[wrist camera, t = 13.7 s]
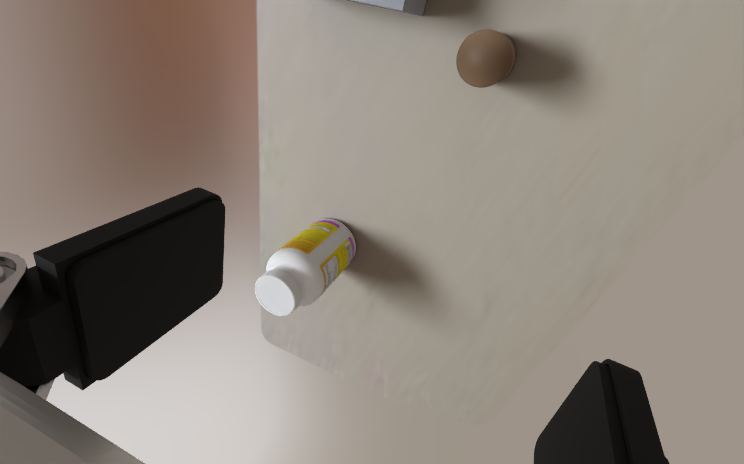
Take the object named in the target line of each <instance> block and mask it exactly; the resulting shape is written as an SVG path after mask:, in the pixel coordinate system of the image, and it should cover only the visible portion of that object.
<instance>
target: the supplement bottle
mask: <svg viewBox="0 0 744 464" xmlns="http://www.w3.org/2000/svg"><path fill="white" fill-rule="evenodd" d="M355 251H356V244H355V239H354V237H353V235H352V233H351V232H350V230H349V229H348V228H347V227H346V226H345V225H344V224H342V223H341V222H339V221H337V220H334V219H329V218H325V219H320V220H318V221H316V222H314V223H313V224H312V225H310V226H309V227H308V228H306V229H305V230H304V231H303V232H301V233H300V234H299V235H297V236H296V237H295V238H293V239H292V240H291V241H290V242H288V243H287V244H286V245H284V246H283V247H282V248H281V249H279V250H278V251H277V252H276V253H274V254H273V255H272V256H271V258H270V259H269V261H268V263H267V267H266V273H264V274H263V275H262V276H261V277H260V278H259V279H258V280H257V282H256V284H255V293H256V296H257V298H258V300H259V302H260V304H261V305H262V306H263V307H264V308H265V309H266V310H267V311H269V312H270V313H272V314H274V315H277V316H287V315H289V314H291V313H292V312H293V311H294V310H295V309H296V308H297V307H298V306H306V305H309V304H312V303H313V302H315V301H316V300H317V299H318V298H319V297H320V296H321V295H322V294H323V293H324V291H325V290H326V289H327V288H328V287H329V286H330V285H331V284H332V282H333V281H334V280H335V279H336V278H337V277H338V276H339V275H340V273H341V272H342V271H343V270H344V269H345V268H346V267H347V266H348V265H349V263H350V262H351V261H352V259H353V258H354V255H355Z"/></svg>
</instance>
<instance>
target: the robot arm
mask: <svg viewBox="0 0 744 464" xmlns="http://www.w3.org/2000/svg"><path fill="white" fill-rule="evenodd" d="M224 228H225V206H224V204H223V203H222V200H221V198H220V196H218V195H216V194H214V193H212V192H209V191H207V190H204V189H202V188H194V189H192V190H189V191H187V192H184V193H182V194H179V195H177V196H174V197H172V198H169V199H167V200H164V201H162V202H159V203H157V204H155V205H152V206H149V207H147V208H144V209H142V210H139V211H137V212H135V213H132V214H129V215H127V216H124V217H122V218H119V219H117V220H114V221H112V222H109V223H107V224H104V225H102V226H99V227H97V228H94V229H92V230H89V231H87V232H85V233H82V234H79V235H77V236H74V237H72V238H69V239H67V240H64V241H62V242H59V243H57V244H54V245H52V246H49V247H47V248H44V249H42V250H39V251H37V252H34V253H33V254H34V258H35V262H36V266H34V267H32V268H29V269H28V268H27V265H26V262H25V260H24V259H23V258H21V257H20V256H18V255H15V254H12V253H8V252H0V464H144V463H143V462H141V461H140V460H138V459H137V458H135V457H134V456H132V455H130V454H129V453H127V452H126V451H124V450H123V449H121V448H120V447H118V446H117V445H115V444H113V443H112V442H110V441H109V440H107V439H105V438H104V437H102V436H101V435H99V434H98V433H96V432H95V431H93V430H91V429H90V428H88V427H87V426H85V425H84V424H82V423H80V422H79V421H77V420H76V419H74V418H73V417H71V416H69V415H68V414H66V413H65V412H63V411H62V410H60V409H58V408H57V407H55V406H54V405H52V404H51V403H49V402H48V401H46V399H47V396H48V394H49V391H50V389H51V387H52V384H53V381H54V379H55V378H56V377H58V376H59V375H61V374H62V373H64V376H65V379H66V380H67V381H69V382H70V383H72V384H73V385H75V386H77V387H79V388H80V389H82V390H84V389H85V388H87V387H88V386H89V385H91V384H92V383H94V382H95V381H96V380H102V379H105V378H107V377H108V376H110V375H111V374H112V373H114V372H115V371H116V370H118V369H119V368H120V367H122V366H123V365H124V364H126V363H127V362H128V361H130V360H131V359H132V358H134V357H135V356H136V355H138V354H139V353H140V352H142V351H143V350H144V349H146V348H147V347H148V346H150V345H151V344H152V343H154V342H155V341H156V340H158V339H159V338H160V337H161V336H163V335H164V334H166V333H167V332H168V331H169V330H171V329H172V328H174V327H175V326H176V325H178V324H179V323H180V322H182V321H183V320H184V319H186V318H187V317H188V316H190V315H191V314H192V313H194V312H195V311H196V310H198V309H199V308H200V307H202V306H203V305H204V304H206V303H207V302H208V301H210V300H211V299H212V298H214V297H215V296H216V295H217V294H218V293H219V291H220V290H221V287H222V283H223V255H224ZM534 464H669V462H668V460H667V459H666V457H665V456H664V453H663V449H662V446H661V442H660V439H659V435H658V432H657V429H656V425H655V422H654V418H653V415H652V411H651V408H650V405H649V401H648V397H647V394H646V391H645V387H644V384H643V380H642V377H641V375H640V373H639V372H638V371H636V370H634V369H632V368H629V367H627V366H624V365H622V364H620V363H617V362H615V361H612V360H610V359H606V360H605V361H603V362H602V363H599V362H597V361H594V362H592V363H591V365H590V366H589V367H588V369H587V370H586V371H585V373H584V374H583V376H582V377H581V378H580V380H579V381H578V383H577V384H576V385H575V387H574V388H573V390H572V391H571V392H570V394H569V395H568V397H567V398H566V400H565V401H564V402H563V404H562V405H561V406H560V408H559V409H558V411H557V412H556V414H555V415H554V416H553V418H552V419H551V420H550V422H549V423H548V425H547V426H546V427H545V429H544V430H543V432H542V433H541V434H540V436H539V438H538V440H537V442H536V445H535V451H534Z"/></svg>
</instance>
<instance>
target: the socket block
mask: <svg viewBox="0 0 744 464" xmlns="http://www.w3.org/2000/svg"><path fill="white" fill-rule="evenodd" d="M349 1H354V2H359V3H363V4H368V5H373V6H377V7H382V8H387V9H391V10H396V11H401V12H406V13H410V14H415V15H420V16H423V14H424V9H425V5H426V0H349Z"/></svg>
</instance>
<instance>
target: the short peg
mask: <svg viewBox="0 0 744 464" xmlns="http://www.w3.org/2000/svg"><path fill="white" fill-rule="evenodd" d="M515 61H516V47H515V45H514V43H513V41H512V40H511V38H509V37H508V36H507V35H505V34H503V33H500V32H497V31H494V30H489V29H484V30H479V31H477V32H474V33H473V34H471V35H470V36H468V37H467V38H466V39H465V40H464V42H463V43H462V44H461V46H460V48H459V51H458V54H457V69H458V72H459V74H460V76H461V78H462V79H463V80H464V81H465V82H466V83H468V84H469V85H471V86H474V87H481V88H482V87H488V86H491V85H493V84H495V83H497V82H498V81H500V80H501V79H502V78H504V77H505V76H507V75H508V74H509V73H510V71H511V70H512V68H513V67H514V64H515Z"/></svg>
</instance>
